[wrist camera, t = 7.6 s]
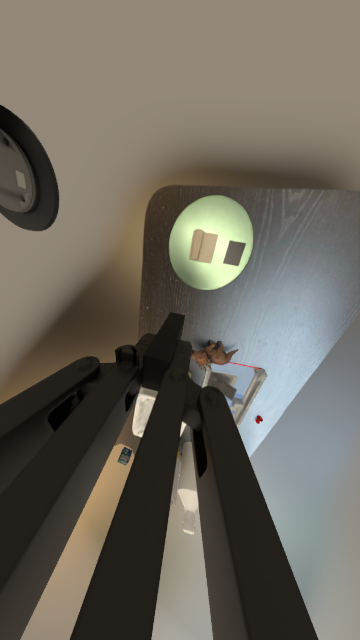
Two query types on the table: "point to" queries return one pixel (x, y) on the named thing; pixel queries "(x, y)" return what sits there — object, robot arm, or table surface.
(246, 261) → the green-lidded canister
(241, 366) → the architectural model
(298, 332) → the table surface
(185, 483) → the bottle
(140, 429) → the basket
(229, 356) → the dinosaur figurine
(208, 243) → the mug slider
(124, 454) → the puzzle
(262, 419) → the pushpin
